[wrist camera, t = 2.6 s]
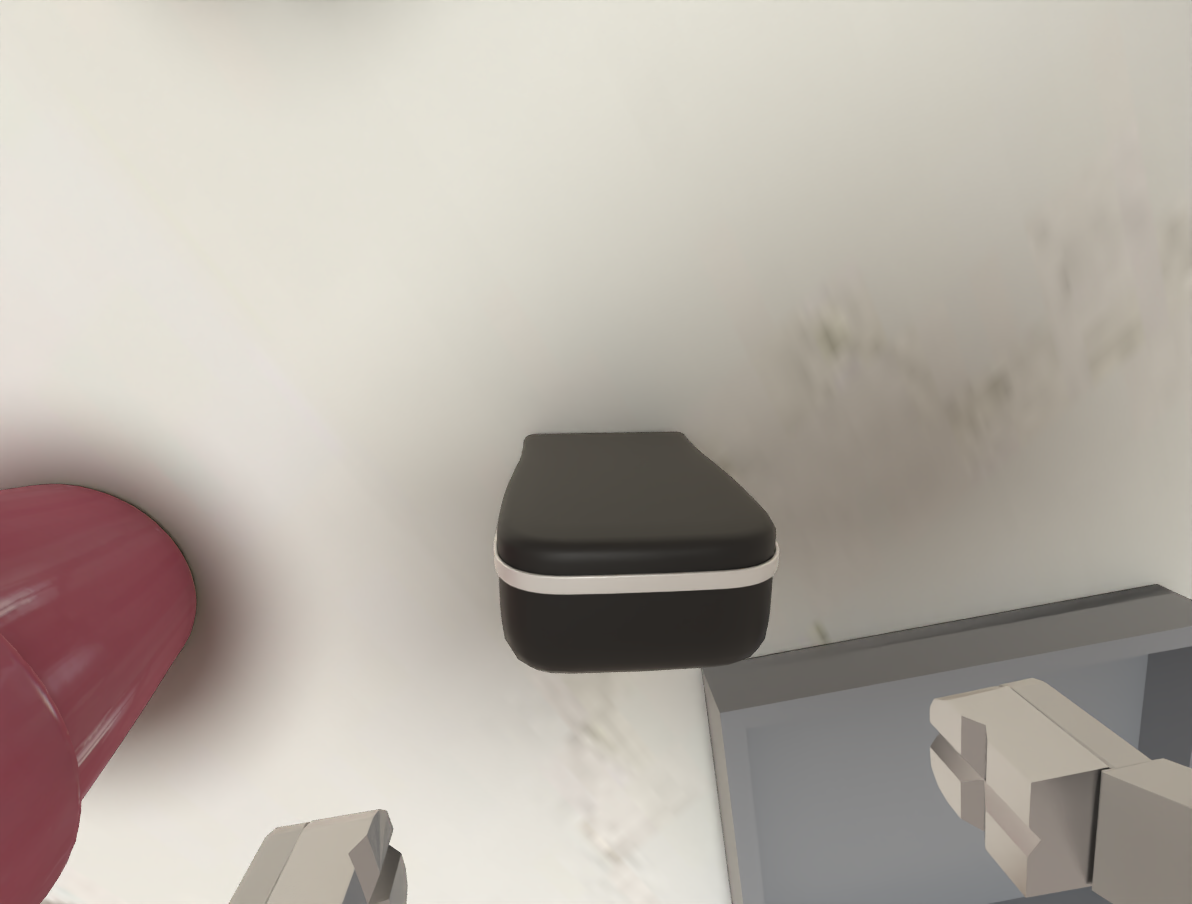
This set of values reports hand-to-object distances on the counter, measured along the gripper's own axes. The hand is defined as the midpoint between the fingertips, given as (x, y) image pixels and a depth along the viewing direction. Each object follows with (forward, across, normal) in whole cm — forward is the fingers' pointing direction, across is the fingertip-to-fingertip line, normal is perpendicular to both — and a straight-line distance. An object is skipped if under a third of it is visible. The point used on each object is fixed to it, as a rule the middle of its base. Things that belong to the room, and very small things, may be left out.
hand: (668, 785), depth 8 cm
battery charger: (+15, -1, 0) cm, 16 cm away
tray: (+15, -15, +19) cm, 28 cm away
